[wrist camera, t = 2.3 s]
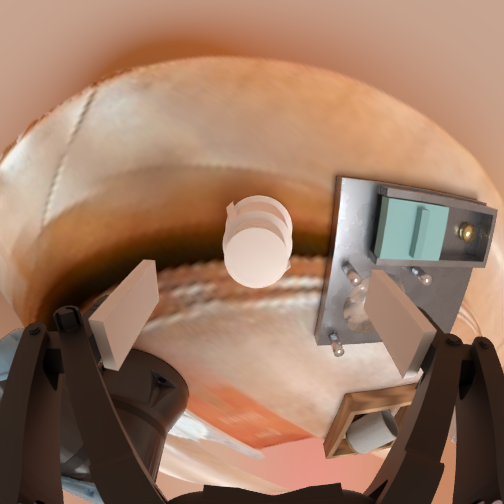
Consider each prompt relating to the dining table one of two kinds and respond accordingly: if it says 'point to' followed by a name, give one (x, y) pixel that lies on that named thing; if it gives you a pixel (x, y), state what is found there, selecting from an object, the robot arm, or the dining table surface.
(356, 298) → the housing board
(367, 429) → the ceramic mug
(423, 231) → the cover
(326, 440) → the wooden caddy
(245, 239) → the downlight
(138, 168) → the dining table surface
